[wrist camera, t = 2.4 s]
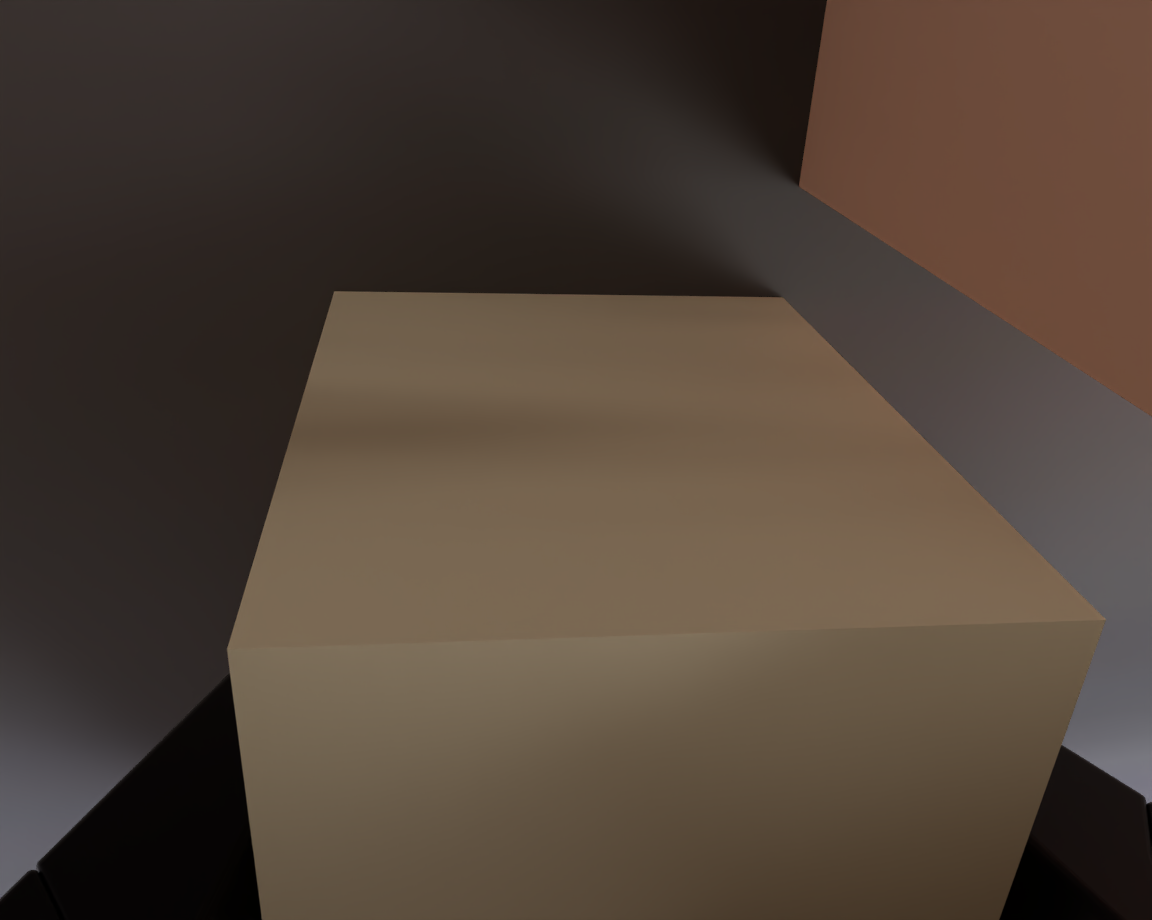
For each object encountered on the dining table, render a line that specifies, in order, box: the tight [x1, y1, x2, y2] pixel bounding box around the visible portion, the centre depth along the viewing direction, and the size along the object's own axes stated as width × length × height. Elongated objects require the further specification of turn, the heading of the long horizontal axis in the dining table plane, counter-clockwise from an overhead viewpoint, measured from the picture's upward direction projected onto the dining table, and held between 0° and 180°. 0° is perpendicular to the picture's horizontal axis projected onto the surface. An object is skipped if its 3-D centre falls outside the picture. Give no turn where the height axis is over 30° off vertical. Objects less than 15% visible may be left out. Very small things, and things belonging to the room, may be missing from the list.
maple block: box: [227, 291, 1106, 920], centre depth 8 cm, size 6×4×5 cm, turn 177°
